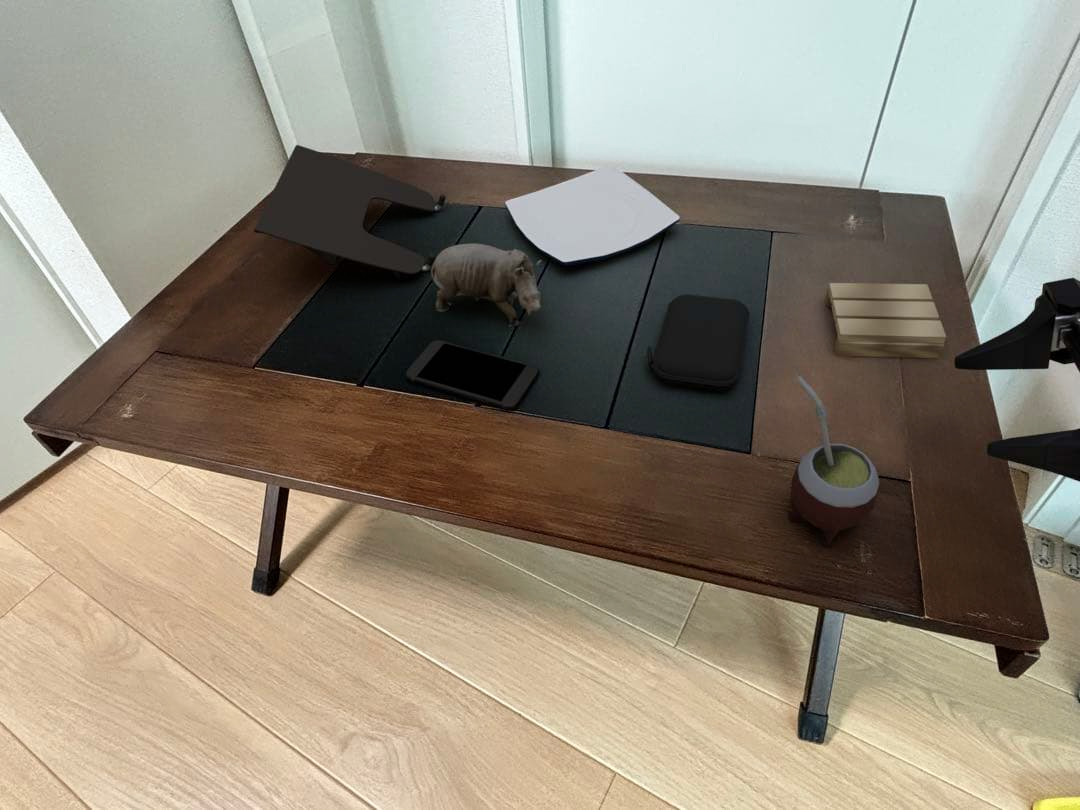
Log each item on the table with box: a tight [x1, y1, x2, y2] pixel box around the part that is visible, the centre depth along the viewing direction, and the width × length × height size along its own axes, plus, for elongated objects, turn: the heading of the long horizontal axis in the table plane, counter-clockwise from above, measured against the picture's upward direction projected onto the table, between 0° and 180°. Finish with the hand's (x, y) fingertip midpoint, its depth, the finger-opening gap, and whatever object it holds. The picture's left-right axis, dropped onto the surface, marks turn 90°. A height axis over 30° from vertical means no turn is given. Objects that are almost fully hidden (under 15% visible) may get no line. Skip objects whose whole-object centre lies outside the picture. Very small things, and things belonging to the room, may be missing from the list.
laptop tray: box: [253, 144, 447, 279], centre depth 104 cm, size 23×23×9 cm
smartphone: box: [405, 339, 540, 410], centre depth 84 cm, size 7×15×1 cm, turn 64°
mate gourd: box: [787, 375, 880, 549], centre depth 62 cm, size 8×8×15 cm
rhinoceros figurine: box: [430, 242, 543, 328], centre depth 90 cm, size 8×14×15 cm
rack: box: [823, 282, 947, 360], centre depth 83 cm, size 11×10×3 cm
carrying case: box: [646, 293, 750, 391], centre depth 83 cm, size 11×3×15 cm
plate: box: [504, 164, 681, 267], centre depth 103 cm, size 20×20×3 cm
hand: (970, 403), depth 55 cm, fingers open, 9 cm apart
